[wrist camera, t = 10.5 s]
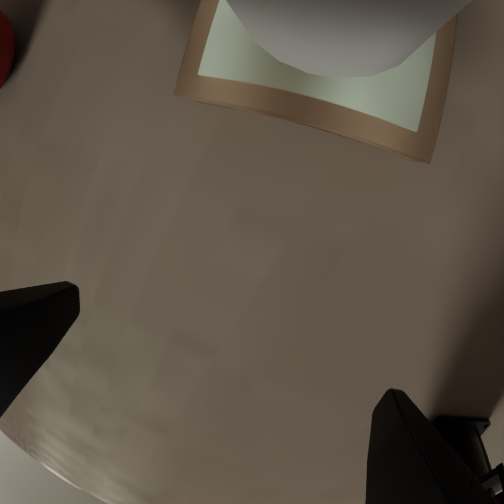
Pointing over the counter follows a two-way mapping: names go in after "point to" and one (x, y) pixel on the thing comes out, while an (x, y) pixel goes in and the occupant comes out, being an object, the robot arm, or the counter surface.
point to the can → (343, 31)
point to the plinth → (319, 86)
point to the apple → (6, 47)
